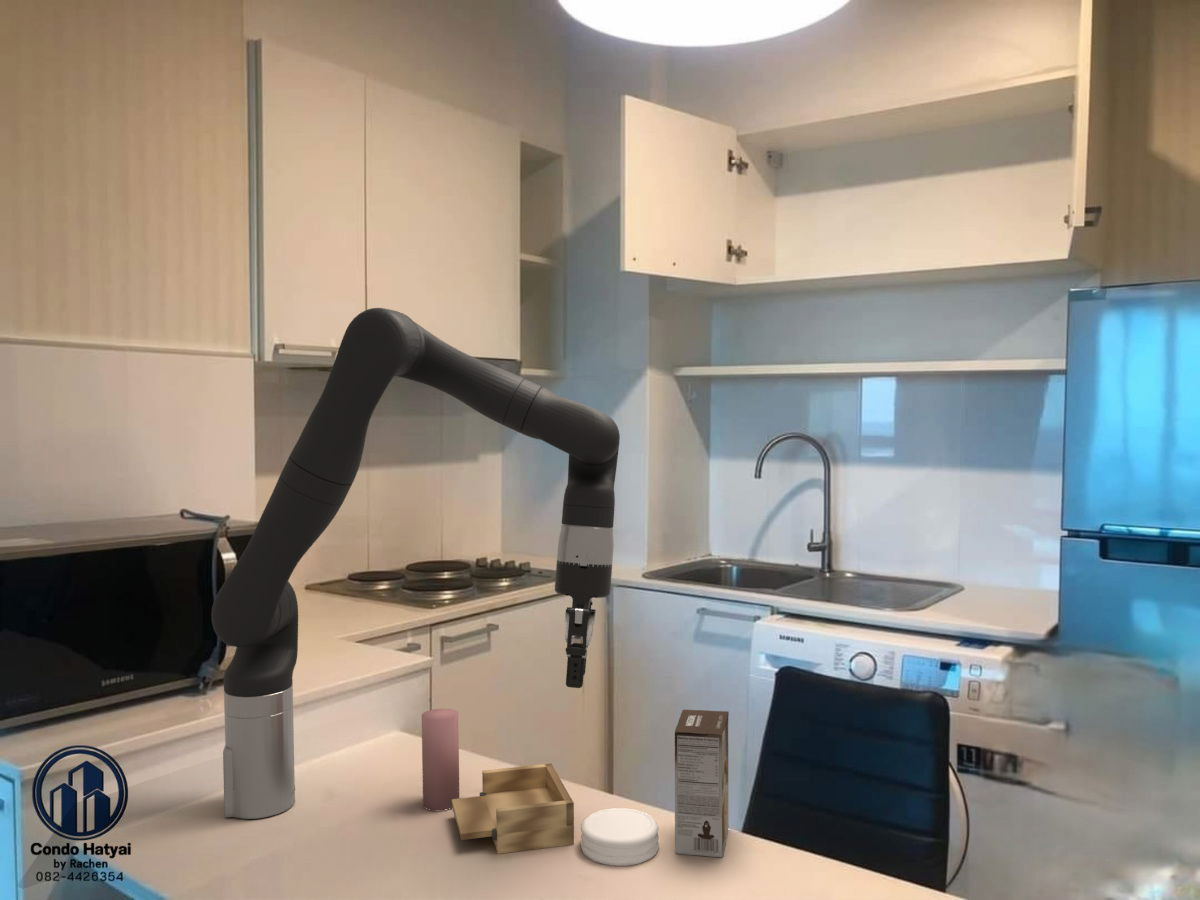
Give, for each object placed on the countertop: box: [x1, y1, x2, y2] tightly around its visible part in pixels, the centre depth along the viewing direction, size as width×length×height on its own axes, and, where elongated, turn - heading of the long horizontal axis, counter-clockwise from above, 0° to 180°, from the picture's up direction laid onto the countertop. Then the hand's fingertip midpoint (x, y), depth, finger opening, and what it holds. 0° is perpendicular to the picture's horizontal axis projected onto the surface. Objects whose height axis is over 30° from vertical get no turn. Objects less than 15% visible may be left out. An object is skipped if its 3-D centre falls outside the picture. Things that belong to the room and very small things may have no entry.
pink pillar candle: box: [421, 708, 460, 811], centre depth 135 cm, size 5×5×13 cm
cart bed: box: [452, 763, 575, 855], centre depth 127 cm, size 14×14×6 cm
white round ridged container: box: [580, 807, 660, 867], centre depth 122 cm, size 10×10×4 cm
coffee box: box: [674, 709, 729, 858], centre depth 123 cm, size 9×6×16 cm
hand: (575, 681), depth 126 cm, fingers open, 8 cm apart
